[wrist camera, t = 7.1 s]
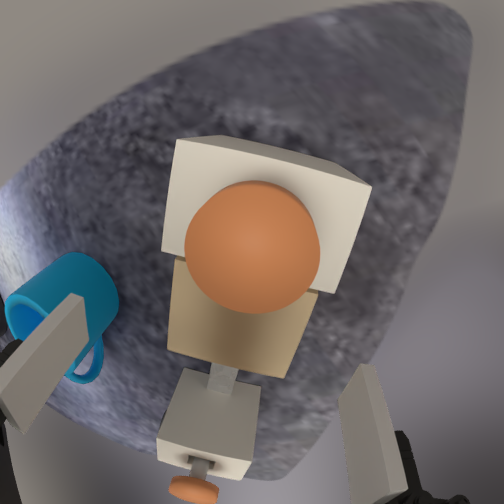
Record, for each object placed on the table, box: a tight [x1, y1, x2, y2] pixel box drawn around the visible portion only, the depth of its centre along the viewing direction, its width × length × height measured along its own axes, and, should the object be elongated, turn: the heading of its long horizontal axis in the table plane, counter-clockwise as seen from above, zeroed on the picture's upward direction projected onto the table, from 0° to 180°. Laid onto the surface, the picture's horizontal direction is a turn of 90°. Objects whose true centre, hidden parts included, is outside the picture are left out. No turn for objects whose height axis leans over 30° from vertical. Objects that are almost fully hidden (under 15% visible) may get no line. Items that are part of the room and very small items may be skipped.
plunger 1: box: [169, 456, 219, 504], centre depth 20 cm, size 4×4×5 cm
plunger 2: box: [184, 180, 320, 314], centre depth 11 cm, size 4×4×5 cm
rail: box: [207, 362, 239, 395], centre depth 24 cm, size 2×17×2 cm, turn 168°
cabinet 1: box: [156, 367, 261, 481], centre depth 25 cm, size 8×5×9 cm, turn 77°
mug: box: [5, 252, 119, 384], centre depth 23 cm, size 12×8×8 cm
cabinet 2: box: [161, 135, 372, 294], centre depth 16 cm, size 8×5×9 cm, turn 77°
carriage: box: [167, 256, 318, 378], centre depth 19 cm, size 7×6×8 cm
